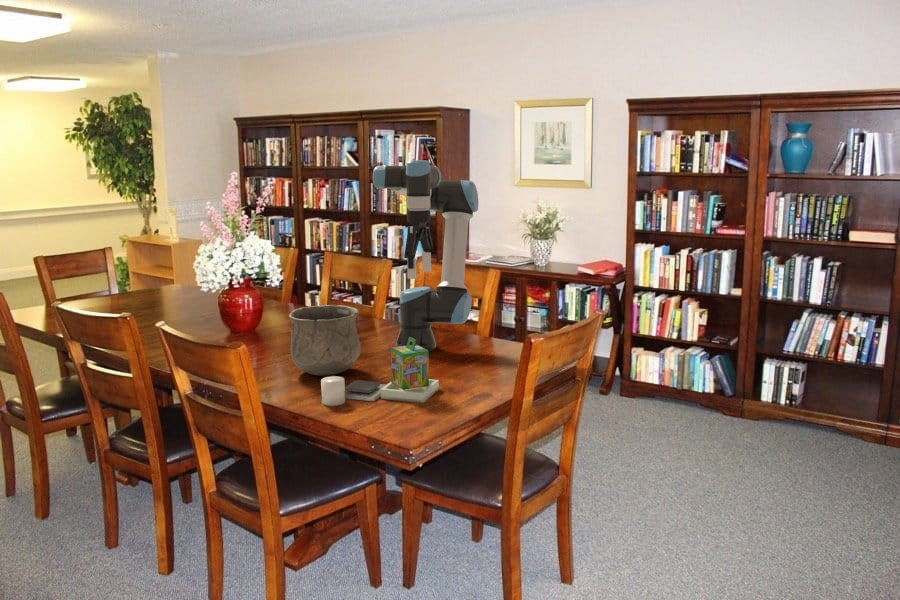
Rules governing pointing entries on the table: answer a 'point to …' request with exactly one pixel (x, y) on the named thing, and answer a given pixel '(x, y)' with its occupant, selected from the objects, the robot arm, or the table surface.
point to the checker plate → (362, 386)
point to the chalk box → (410, 366)
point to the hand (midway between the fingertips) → (419, 275)
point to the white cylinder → (333, 390)
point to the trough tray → (410, 392)
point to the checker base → (364, 394)
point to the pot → (324, 339)
